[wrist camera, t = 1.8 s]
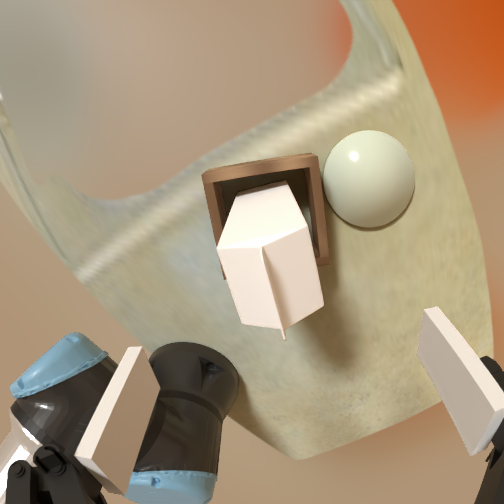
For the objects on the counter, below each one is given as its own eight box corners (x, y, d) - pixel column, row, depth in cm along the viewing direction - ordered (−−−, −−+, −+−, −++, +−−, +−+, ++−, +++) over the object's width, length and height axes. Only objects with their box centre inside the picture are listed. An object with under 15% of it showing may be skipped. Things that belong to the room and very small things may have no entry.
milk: (250, 237, 40) (236, 354, 20) (236, 191, 38) (204, 269, 18) (298, 226, 39) (333, 333, 19) (286, 178, 37) (315, 242, 17)
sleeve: (228, 262, 41) (224, 279, 37) (209, 169, 37) (201, 174, 32) (321, 248, 40) (329, 264, 36) (310, 152, 36) (317, 156, 31)
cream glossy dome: (328, 232, 39) (329, 233, 39) (316, 135, 35) (317, 135, 35) (414, 219, 38) (416, 221, 38) (408, 127, 34) (410, 128, 34)
